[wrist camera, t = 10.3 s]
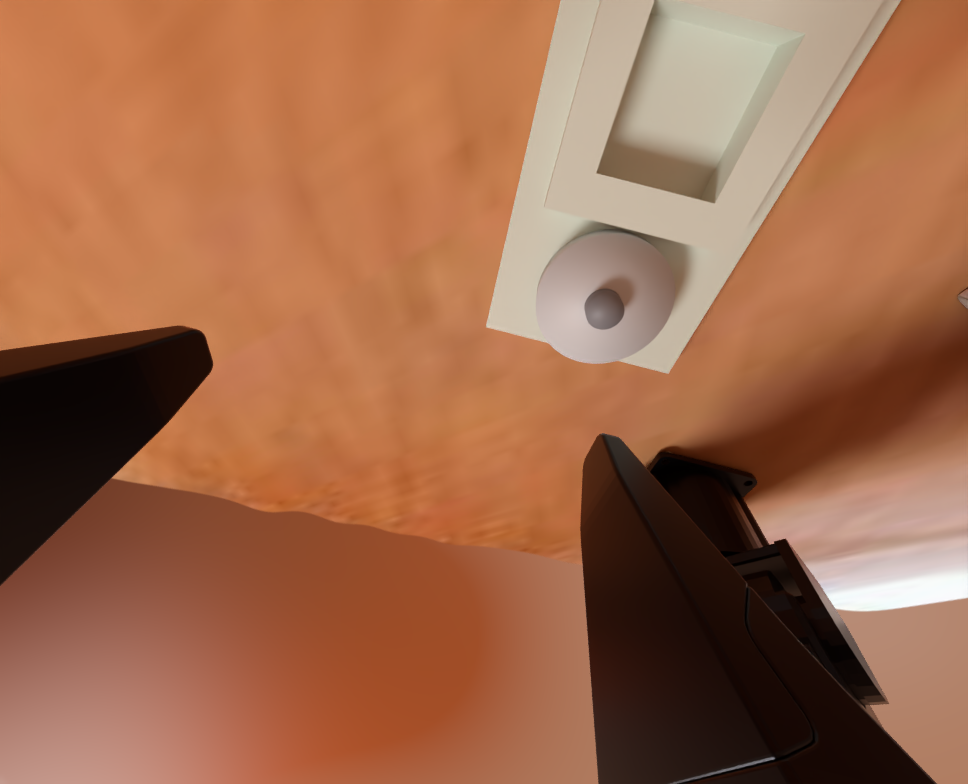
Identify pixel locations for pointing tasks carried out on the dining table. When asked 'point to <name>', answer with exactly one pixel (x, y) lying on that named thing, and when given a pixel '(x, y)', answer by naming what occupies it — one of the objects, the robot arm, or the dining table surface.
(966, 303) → the coffee box
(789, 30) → the block
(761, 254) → the dining table surface
